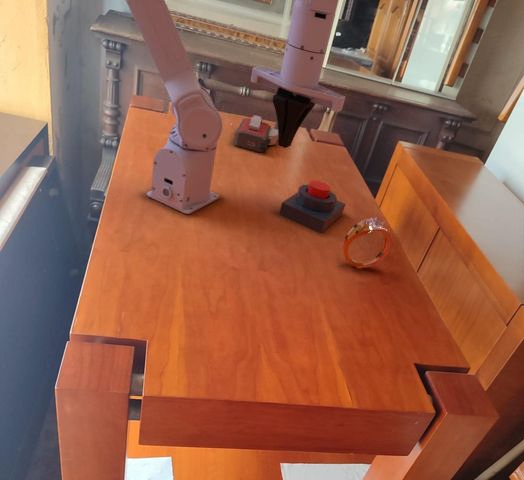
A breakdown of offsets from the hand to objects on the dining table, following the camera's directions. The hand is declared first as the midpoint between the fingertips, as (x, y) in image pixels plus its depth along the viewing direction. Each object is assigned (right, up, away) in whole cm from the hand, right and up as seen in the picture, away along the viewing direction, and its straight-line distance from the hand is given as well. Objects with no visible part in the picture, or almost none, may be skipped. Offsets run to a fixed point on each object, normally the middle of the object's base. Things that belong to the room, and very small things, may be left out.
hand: (284, 145), depth 77 cm
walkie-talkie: (-5, +15, +32) cm, 35 cm away
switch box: (+5, -9, +7) cm, 13 cm away
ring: (+11, -20, -3) cm, 23 cm away
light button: (+6, -6, +5) cm, 10 cm away
